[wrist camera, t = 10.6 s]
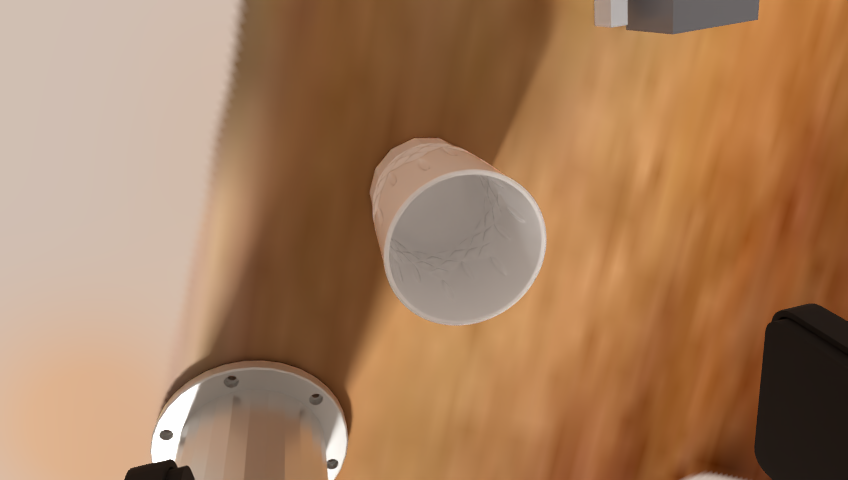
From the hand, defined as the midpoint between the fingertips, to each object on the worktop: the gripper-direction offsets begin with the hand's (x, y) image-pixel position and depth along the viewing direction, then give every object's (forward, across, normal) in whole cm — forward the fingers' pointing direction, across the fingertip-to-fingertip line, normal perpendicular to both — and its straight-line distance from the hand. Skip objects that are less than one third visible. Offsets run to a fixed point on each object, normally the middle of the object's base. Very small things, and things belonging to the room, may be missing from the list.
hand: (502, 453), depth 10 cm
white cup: (+28, -4, +5) cm, 29 cm away
